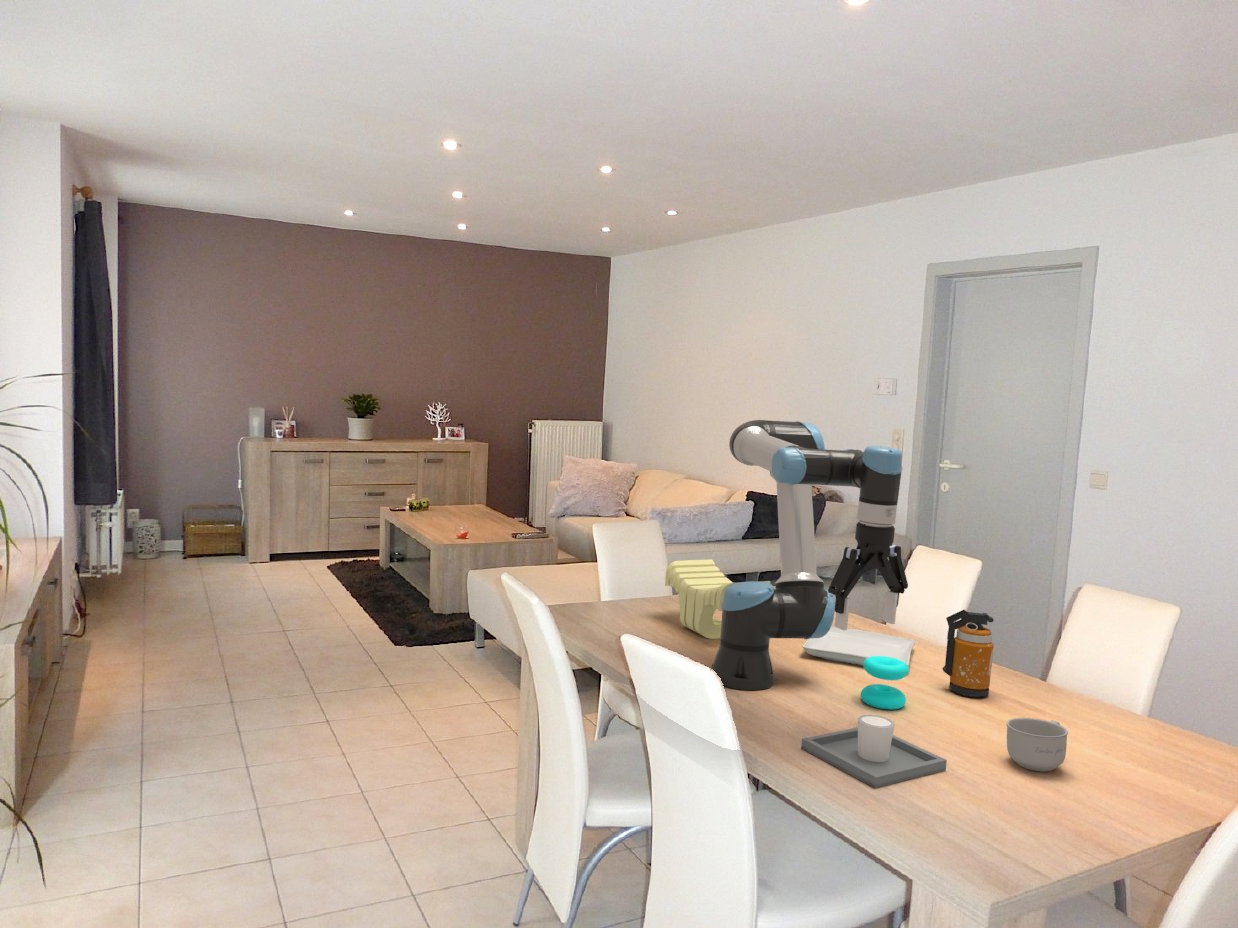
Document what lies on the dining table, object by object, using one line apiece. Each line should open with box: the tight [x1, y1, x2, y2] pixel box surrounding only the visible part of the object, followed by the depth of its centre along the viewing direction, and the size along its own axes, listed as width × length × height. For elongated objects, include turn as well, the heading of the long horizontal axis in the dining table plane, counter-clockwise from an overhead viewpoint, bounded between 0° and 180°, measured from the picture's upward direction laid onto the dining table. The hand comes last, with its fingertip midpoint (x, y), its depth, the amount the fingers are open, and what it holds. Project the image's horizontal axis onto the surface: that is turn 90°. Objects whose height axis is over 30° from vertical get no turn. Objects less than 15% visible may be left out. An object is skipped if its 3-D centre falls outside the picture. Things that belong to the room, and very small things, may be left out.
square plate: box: [802, 625, 916, 667], centre depth 245 cm, size 27×27×4 cm
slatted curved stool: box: [664, 558, 771, 640], centre depth 258 cm, size 30×16×18 cm, turn 26°
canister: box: [941, 609, 995, 698], centre depth 217 cm, size 9×11×20 cm
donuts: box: [860, 656, 910, 710], centre depth 206 cm, size 10×10×10 cm
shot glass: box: [857, 714, 895, 762], centre depth 173 cm, size 7×7×7 cm
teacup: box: [1006, 717, 1069, 772], centre depth 176 cm, size 14×11×8 cm
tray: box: [800, 726, 948, 789], centre depth 173 cm, size 19×19×2 cm
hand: (865, 625), depth 184 cm, fingers open, 13 cm apart
